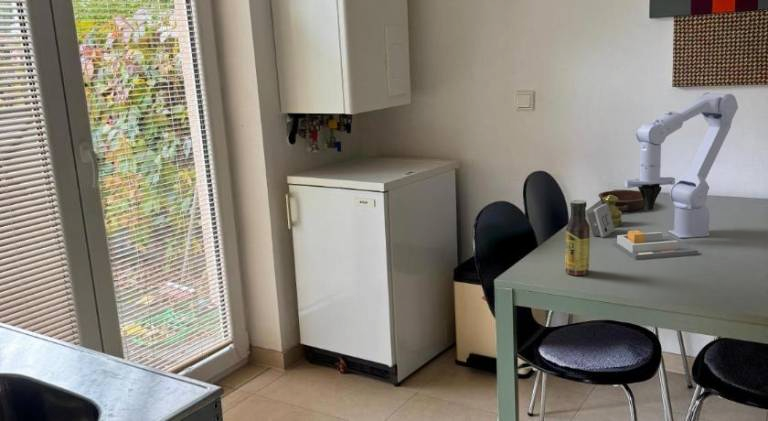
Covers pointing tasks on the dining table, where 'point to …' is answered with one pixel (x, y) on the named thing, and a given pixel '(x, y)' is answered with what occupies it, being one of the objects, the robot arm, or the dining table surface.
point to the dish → (625, 199)
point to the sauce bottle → (577, 240)
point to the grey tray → (654, 246)
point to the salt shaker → (613, 210)
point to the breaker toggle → (636, 236)
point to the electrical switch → (601, 221)
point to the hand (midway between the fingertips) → (649, 209)
